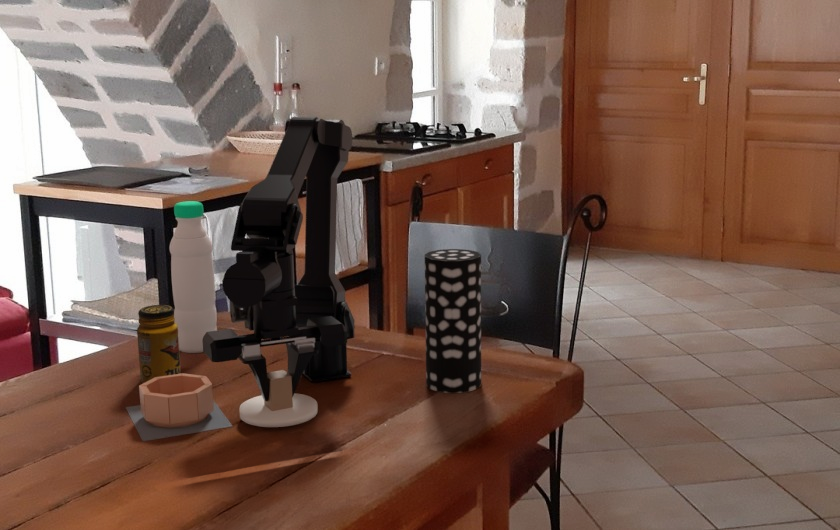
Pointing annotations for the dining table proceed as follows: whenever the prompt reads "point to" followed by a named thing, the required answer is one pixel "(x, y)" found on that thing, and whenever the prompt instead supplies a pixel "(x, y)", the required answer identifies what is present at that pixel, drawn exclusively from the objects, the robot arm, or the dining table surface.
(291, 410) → the lid
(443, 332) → the spotted tube
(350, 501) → the dining table surface
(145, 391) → the bowl
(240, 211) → the robot arm
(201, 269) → the water bottle
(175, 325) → the condiment
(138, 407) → the mat
